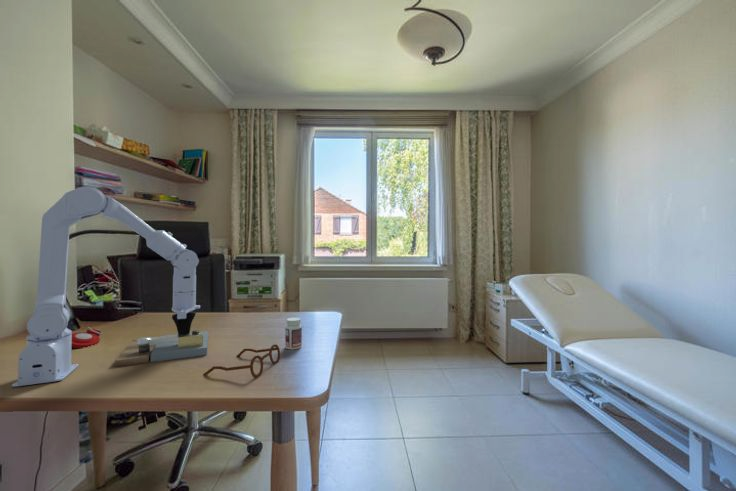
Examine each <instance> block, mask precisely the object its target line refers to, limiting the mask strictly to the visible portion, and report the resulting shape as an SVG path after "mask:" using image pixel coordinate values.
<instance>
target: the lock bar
mask: <svg viewBox="0 0 736 491" xmlns="http://www.w3.org/2000/svg"><path fill="white" fill-rule="evenodd" d="M199 332H200V330H196V329H195V330H192V331H191V333H192V334H182V335H173V334H171V335H172V336H163V335H161V336H162V337H161V336H154V337H153V336H144V337H143V336H142V337H139V338H137V339H136V340H137V347H147V346H150V345H157V344H166V343H175V342H178V337H179V336H188V335H198V334H200V333H199Z"/></svg>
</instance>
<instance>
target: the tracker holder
mask: <svg viewBox="0 0 736 491" xmlns="http://www.w3.org/2000/svg"><path fill="white" fill-rule="evenodd" d="M100 335H101V336H103V333H102V331H101V330H100V329H98V328H94V327H93V328H92V327H89V326H87V329H86V331H85V332H84V331H83V332H72V344H71V348H74V349H84V348H83V347H85V348H89V347H88V346H90V347H92V346H91V345H93V346H95V344H96V345H98V344H99V343H100V341H101V340H100V339H101V338H100ZM97 343H98V344H97Z"/></svg>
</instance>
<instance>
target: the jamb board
mask: <svg viewBox="0 0 736 491" xmlns="http://www.w3.org/2000/svg"><path fill="white" fill-rule="evenodd" d="M155 346H156V345H150V346H147V347H137V339H133V340H132V341H130V343H129V344H128V345H127V347H126V348H125V349H124V350H123V351H122V352H121V353H120V355H119V356H118V357H117V358H115V362H114V366H115V368H116V367H122V366H124V367H125V366H129V365H130V366H131V365H137V364H138V365H139V364H145V363H146V364H147V363H149V362H151V353H152V351H153V350H154V348H155Z"/></svg>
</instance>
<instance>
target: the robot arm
mask: <svg viewBox="0 0 736 491" xmlns="http://www.w3.org/2000/svg"><path fill="white" fill-rule="evenodd" d="M100 214H102V217H103V218H108V219H113V220H116V221H118V222H120V223H122V224H123V225H124V226H126V227H128V228H129V229H131V230H132V231H133V232H134V233H136V234H138V235H140V236H141V237H142V238H144V239H145V242H146V247H147V248H149V249H151V251H152V252H155V253H156V254H157V255H159V256H160V257H162V258H163V259H165V260H166V261H170V263H171V264H172V266H173V275H172V307H171V312H174V314H172V316H171V319H172V320H173V322H174V324H175V327H176V329H177V334H178V335H182V334H189V333H191V328H192V323H193V320H194V318H195V317H196V315H197V312H196V310H199V309H201V305H200V304H198V305H197V304H196V303H197V274H196V273H197V266H198V265H199V263H200V260H199V258H198V257H199V256H198V254H197V253H196V252H195V251H194V250H190V249H187V247H188V245H187V244H185V243H182V242H180V241H179V240H177V239H176V238H174V237H173V235H174V234H173V233H171V232H170V231H168V232H166V230H164V229H162V230H157V229H154V228H153V227H152V226H150V225H149V224H147V222H145V221H144V220H143V219H142V218H140V217H139V216H137V215H136V214H135V213H133V211H132V210H130V209H129V208H128V207H126V206H125V205H124V204H122V203H120V202H119V201H117V200H116V199H114V198H113V197H111V196H109V195H106V196H105V194H104V193H103V192H102V191H101V190H100V189H98V188H96V187H92V186H80V187H77V188H75V189H72V190H69V191H68V192H65V193H64V194H63V195H62V196H61V198H60V199H58V201H56V202H55V203H54V204H53V205H52V206H51V207H50V208H49V209H48V210H47V211H45V212H44V213H43V215H42V217H41V229H40V232H41V233H40V245H39V262H38V263H39V264H38V276H37V278H38V280H37V293H36V299H35V304H34V311H33V314H32V315H31V317H30V318H29V319H28V320H27V324H26V329H27V332H28V333H29V334H27V336H26V345H25V347H24V348H23V350H21V352H20V354H19V355H18V358H17V360H18V364H17V365H18V369H17V372H18V373H17V374H18V376H17V377H18V378H17V381H16V382H13V383H11V388H16V387H22V386H30V385H31V386H32V385H36V384H37V385H38V384H44V383H51V382H52V383H53V382H60V381H63V380H65V379H66V377H68V376H69V375H70V374H71V373H72V372H73V371H74V370H76V369H77V368H78V367H79V366H80V365H79V363H75V364H72V347H71V344H72V333H73V331H72V330H71V329H70V328H68V324H69V321H70V319H71V311H70V309H69V307H68V306H67V278H68V277H67V276H68V264H69V263H68V260H69V247H70V246H69V243H70V231H71V230H70V229H71V227H72V226H74V225H75V224H78V222H81V221H83V219H86V218H87V219H88V218H91V217H95V216H98V215H100ZM194 310H195V311H194Z"/></svg>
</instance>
